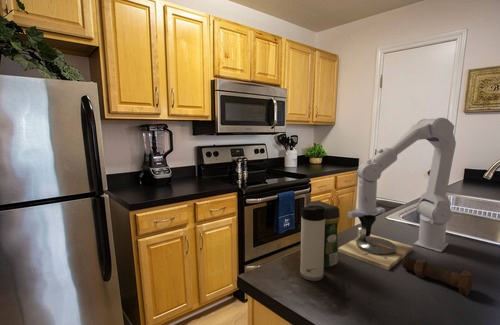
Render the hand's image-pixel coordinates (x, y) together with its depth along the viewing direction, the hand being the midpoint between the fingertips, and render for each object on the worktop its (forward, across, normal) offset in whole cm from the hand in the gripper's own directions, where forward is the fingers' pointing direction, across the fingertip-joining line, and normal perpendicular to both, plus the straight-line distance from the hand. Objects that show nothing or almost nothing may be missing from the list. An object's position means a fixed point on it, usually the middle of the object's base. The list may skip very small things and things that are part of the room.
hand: (365, 235), depth 91 cm
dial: (+2, 0, -5) cm, 5 cm away
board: (+3, 0, -5) cm, 6 cm away
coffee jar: (+3, -22, -5) cm, 22 cm away
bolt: (+4, +1, -24) cm, 24 cm away
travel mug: (+3, -29, -11) cm, 31 cm away
